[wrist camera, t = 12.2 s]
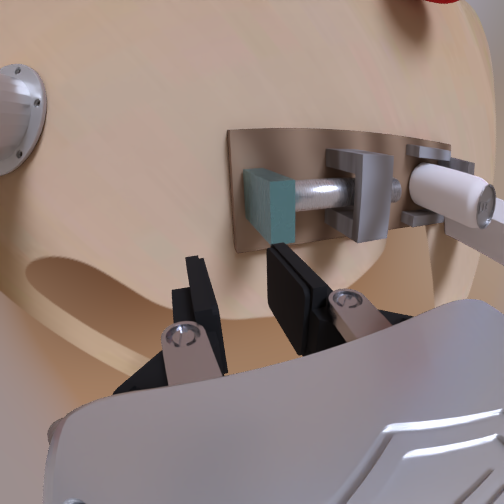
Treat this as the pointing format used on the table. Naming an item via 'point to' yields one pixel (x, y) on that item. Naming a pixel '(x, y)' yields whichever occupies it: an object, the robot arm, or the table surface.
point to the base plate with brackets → (337, 166)
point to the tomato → (442, 1)
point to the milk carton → (482, 234)
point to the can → (453, 194)
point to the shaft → (293, 200)
